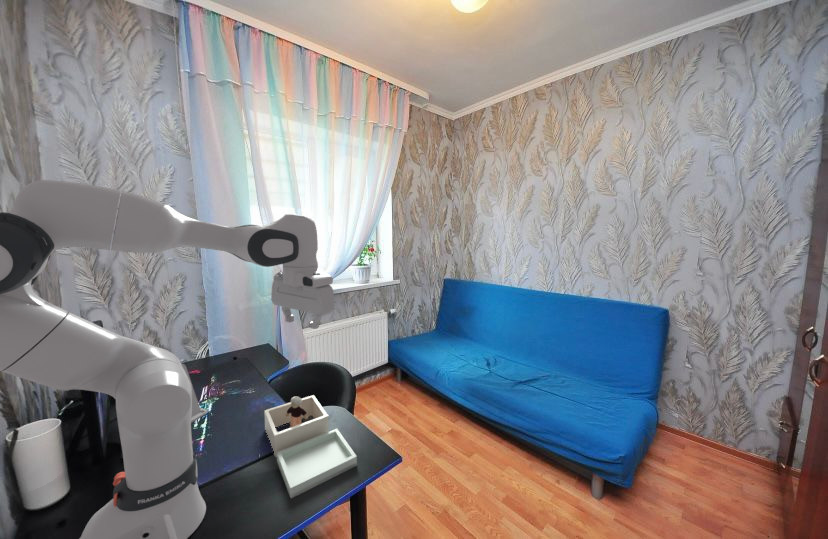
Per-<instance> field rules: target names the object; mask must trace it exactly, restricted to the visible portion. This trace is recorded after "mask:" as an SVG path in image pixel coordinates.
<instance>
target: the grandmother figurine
mask: <svg viewBox="0 0 828 539" xmlns="http://www.w3.org/2000/svg"><path fill="white" fill-rule="evenodd" d="M301 399H302V398H301V397H300V396H293V397H291V399H290V402H291V405H292V406H291V407H290V408H289V409H288V410H287V413H286V417H287V416H289V414H290V413H291V421H290V423H289V428H291V427H294V426H296V425H299V424H302V423H303V422H302V419H301V414H302V415H303V416H304V417H305V418H304V420H308V419H309V417H308V416H307V414H306V413H307V412H306V411H305V410H304V409H302V408H300V407H299V405H300V404H301V403H302V400H301Z"/></svg>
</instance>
